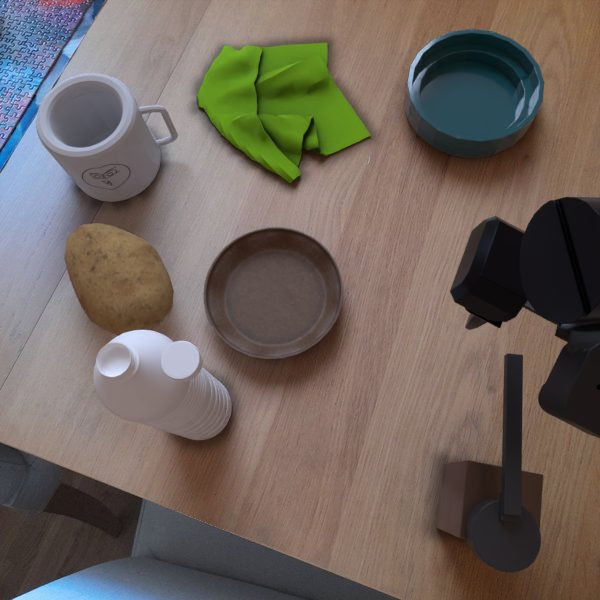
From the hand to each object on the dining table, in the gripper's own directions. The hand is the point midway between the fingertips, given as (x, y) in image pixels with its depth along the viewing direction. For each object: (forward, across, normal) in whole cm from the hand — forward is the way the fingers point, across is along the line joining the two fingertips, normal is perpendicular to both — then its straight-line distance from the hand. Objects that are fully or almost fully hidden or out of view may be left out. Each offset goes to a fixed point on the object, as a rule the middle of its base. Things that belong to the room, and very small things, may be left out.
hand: (519, 350), depth 45 cm
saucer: (+19, -19, +2) cm, 27 cm away
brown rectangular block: (+14, +7, -9) cm, 18 cm away
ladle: (+4, +3, -8) cm, 9 cm away
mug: (+24, -42, +11) cm, 49 cm away
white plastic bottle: (+21, -19, -11) cm, 31 cm away
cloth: (+18, -28, +24) cm, 42 cm away
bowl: (+12, -9, +33) cm, 36 cm away
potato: (+24, -33, -3) cm, 41 cm away
